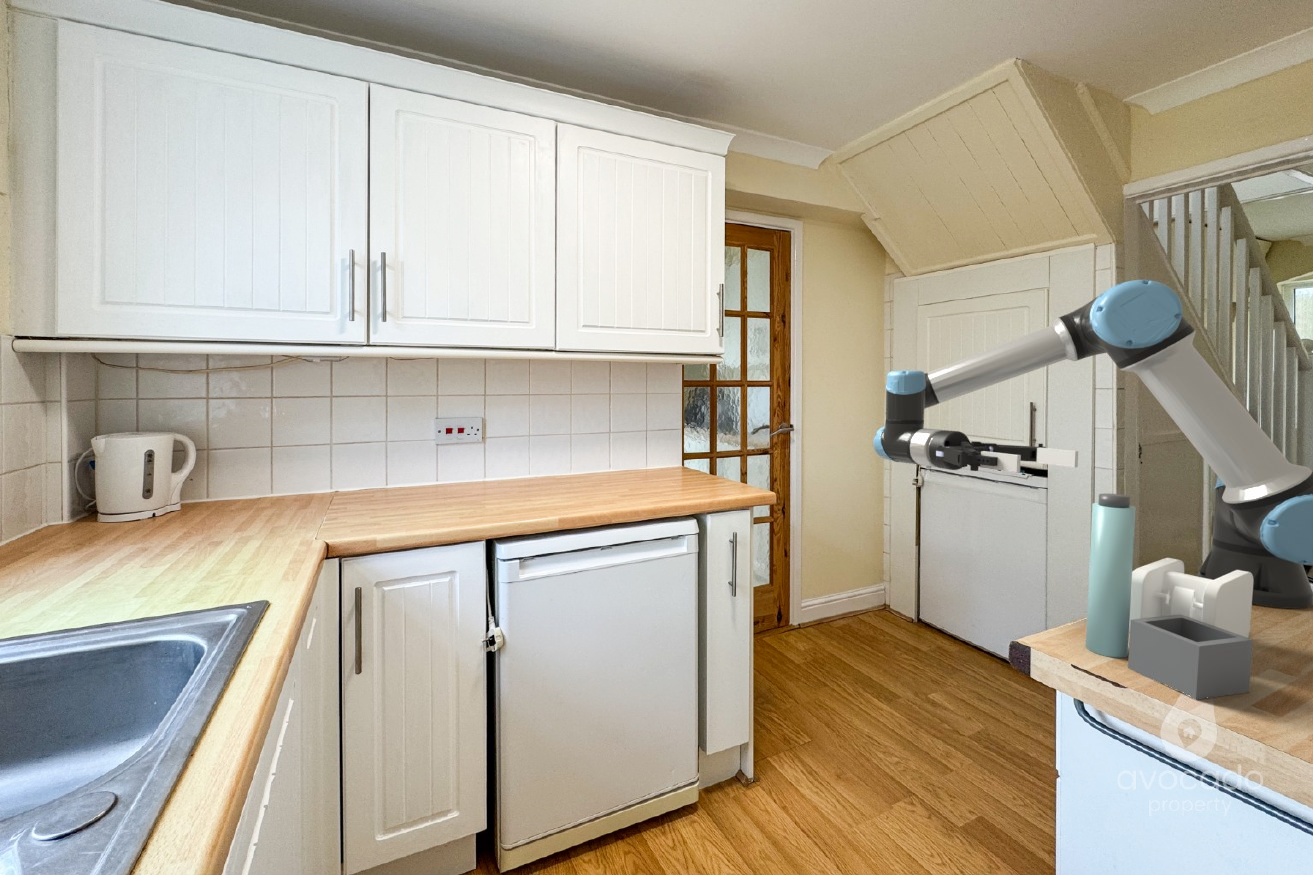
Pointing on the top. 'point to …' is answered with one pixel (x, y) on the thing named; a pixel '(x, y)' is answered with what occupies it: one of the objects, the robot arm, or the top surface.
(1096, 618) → the teal bottle
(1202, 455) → the robot arm
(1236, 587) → the white piece
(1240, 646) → the block
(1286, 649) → the top surface
